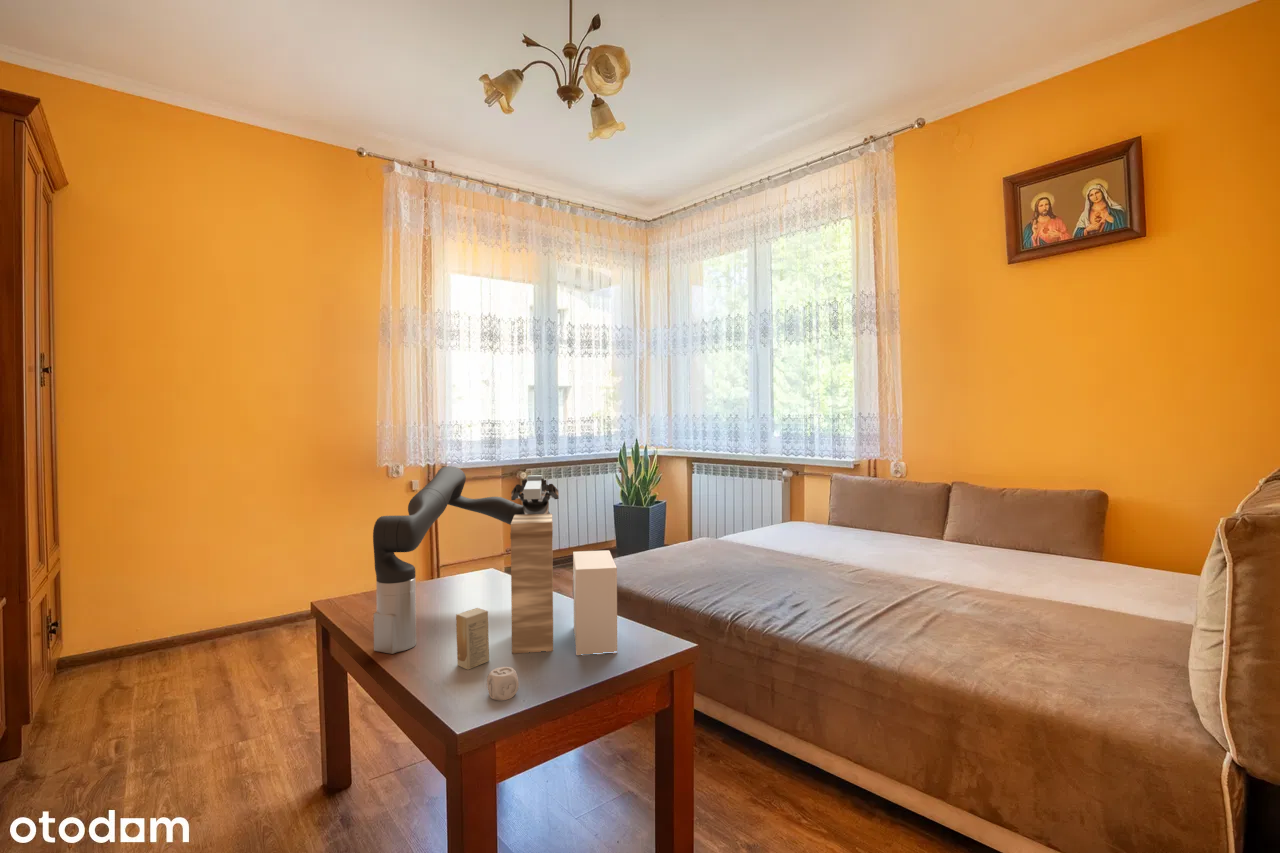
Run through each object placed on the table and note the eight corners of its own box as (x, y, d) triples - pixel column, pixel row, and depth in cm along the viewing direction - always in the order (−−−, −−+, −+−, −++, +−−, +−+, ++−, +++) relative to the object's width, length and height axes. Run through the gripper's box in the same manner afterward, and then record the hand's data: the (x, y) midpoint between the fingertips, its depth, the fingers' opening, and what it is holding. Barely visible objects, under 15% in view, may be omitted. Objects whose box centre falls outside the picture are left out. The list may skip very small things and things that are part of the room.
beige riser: (617, 653, 146) (616, 567, 146) (576, 655, 144) (575, 569, 144) (609, 625, 165) (609, 550, 165) (573, 627, 164) (573, 551, 164)
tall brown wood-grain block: (553, 651, 147) (552, 522, 147) (511, 653, 146) (510, 523, 146) (553, 631, 161) (552, 513, 161) (515, 633, 160) (514, 514, 160)
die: (486, 694, 124) (486, 670, 124) (509, 687, 127) (509, 664, 127) (495, 703, 120) (495, 678, 120) (518, 696, 123) (518, 672, 123)
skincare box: (478, 657, 144) (478, 606, 144) (489, 661, 141) (489, 610, 141) (455, 665, 139) (455, 613, 139) (466, 670, 136) (466, 617, 136)
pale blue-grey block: (540, 498, 147) (540, 484, 147) (523, 499, 146) (523, 484, 146) (542, 487, 171) (542, 475, 171) (527, 488, 170) (527, 475, 170)
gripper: (560, 516, 176) (560, 493, 162) (511, 517, 174) (506, 494, 160) (559, 492, 180) (560, 468, 165) (511, 494, 178) (507, 469, 163)
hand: (533, 481), depth 162 cm, fingers closed on pale blue-grey block, 4 cm apart
